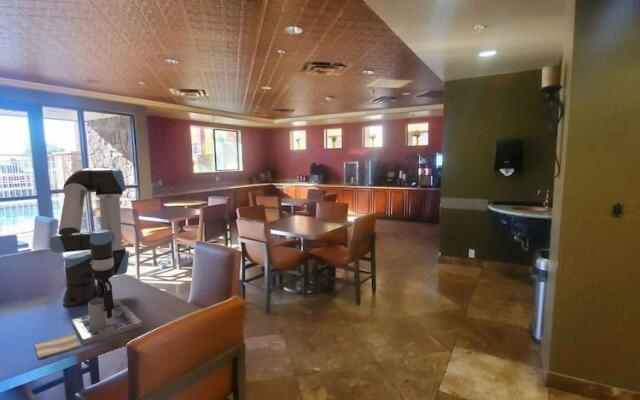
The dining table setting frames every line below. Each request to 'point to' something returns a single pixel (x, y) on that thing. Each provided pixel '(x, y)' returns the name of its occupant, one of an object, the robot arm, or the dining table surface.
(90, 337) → the grey square frame
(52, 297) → the dining table surface
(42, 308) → the dining table surface
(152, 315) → the dining table surface
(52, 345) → the coaster
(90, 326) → the mug
